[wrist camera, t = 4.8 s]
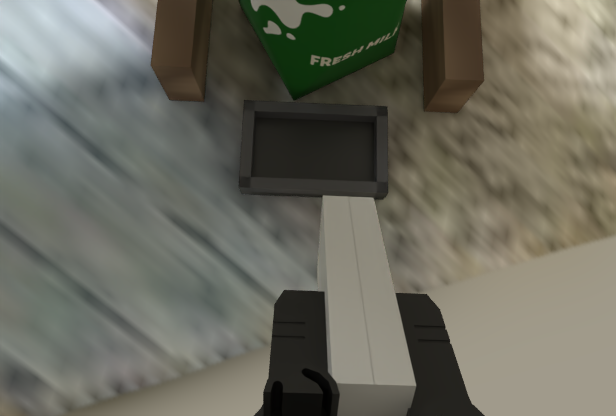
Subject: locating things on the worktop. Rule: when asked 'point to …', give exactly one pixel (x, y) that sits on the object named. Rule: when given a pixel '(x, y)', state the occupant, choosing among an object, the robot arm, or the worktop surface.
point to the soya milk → (323, 37)
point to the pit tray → (314, 150)
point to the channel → (435, 41)
